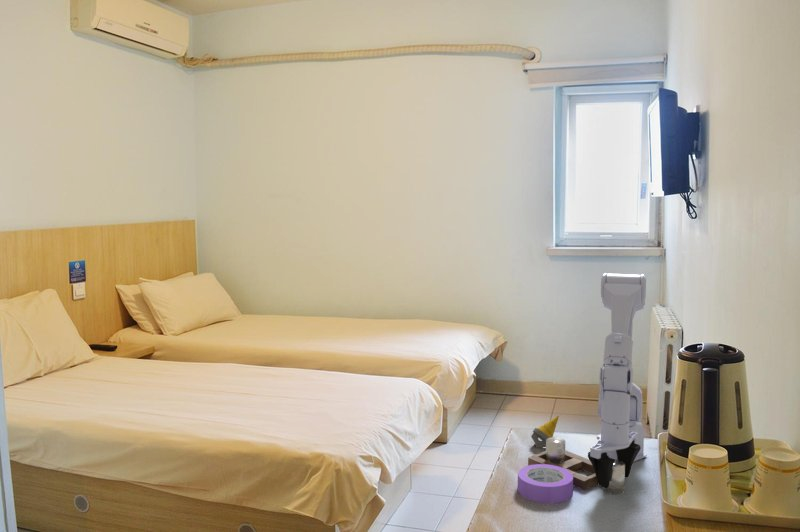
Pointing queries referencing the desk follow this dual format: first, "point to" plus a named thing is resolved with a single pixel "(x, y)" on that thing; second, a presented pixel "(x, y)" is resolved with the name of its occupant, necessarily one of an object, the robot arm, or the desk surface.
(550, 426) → the drill bit
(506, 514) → the desk surface
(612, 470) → the billet
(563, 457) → the billet
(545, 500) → the masking tape
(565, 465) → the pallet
